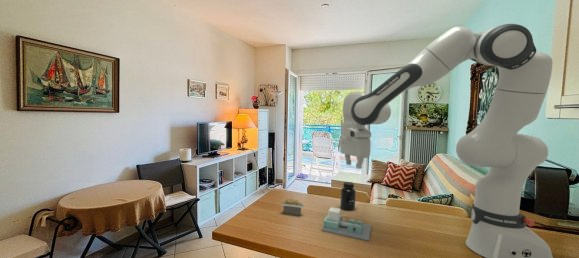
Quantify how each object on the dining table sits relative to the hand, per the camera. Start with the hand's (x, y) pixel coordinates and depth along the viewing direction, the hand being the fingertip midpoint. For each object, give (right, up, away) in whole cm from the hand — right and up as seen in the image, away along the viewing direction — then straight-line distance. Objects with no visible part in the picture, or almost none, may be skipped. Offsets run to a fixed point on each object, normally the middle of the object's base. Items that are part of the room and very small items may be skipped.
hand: (353, 166), depth 95 cm
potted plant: (-25, -23, +8) cm, 35 cm away
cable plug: (-5, -23, -4) cm, 24 cm away
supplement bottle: (+2, -23, +16) cm, 28 cm away
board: (-4, -24, -5) cm, 24 cm away
